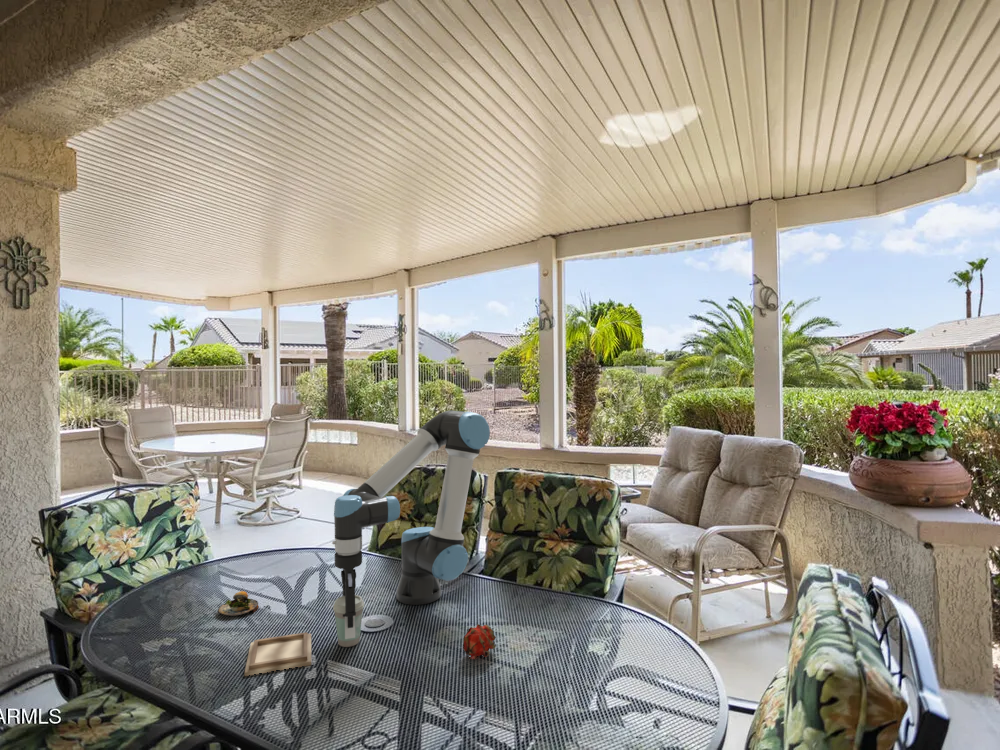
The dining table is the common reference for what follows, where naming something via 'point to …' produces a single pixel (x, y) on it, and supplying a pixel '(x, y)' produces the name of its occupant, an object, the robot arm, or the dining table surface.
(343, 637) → the coffee cup
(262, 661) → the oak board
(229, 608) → the burger
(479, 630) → the dragon fruit
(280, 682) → the dining table surface
